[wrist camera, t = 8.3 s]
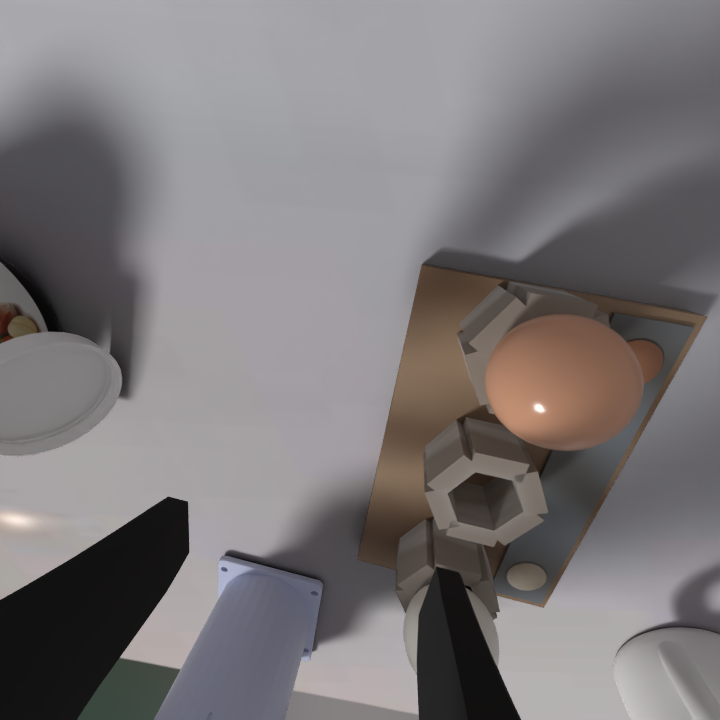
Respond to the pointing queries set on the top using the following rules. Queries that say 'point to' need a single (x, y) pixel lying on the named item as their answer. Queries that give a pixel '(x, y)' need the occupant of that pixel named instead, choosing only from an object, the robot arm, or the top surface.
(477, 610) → the cream ball
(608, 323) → the brown egg holder tray
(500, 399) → the terracotta ball
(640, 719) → the mug
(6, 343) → the spread jar
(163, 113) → the top surface
